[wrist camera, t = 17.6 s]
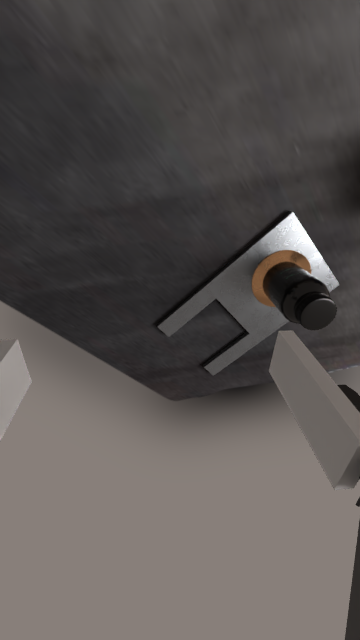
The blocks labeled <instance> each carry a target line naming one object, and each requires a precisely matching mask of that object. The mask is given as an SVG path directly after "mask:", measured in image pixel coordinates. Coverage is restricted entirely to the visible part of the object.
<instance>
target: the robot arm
mask: <svg viewBox="0 0 360 640" xmlns="http://www.w3.org/2000/svg"><path fill="white" fill-rule="evenodd" d="M269 372H270V374H271V376H272V378H273V379H274V381H275V383H276V385H277V387H278V389H279V390H280V392H281V394H282V396H283V398H284V399H285V401H286V403H287V405H288V407H289V408H290V410H291V412H292V414H293V416H294V417H295V419H296V421H297V423H298V425H299V426H300V428H301V430H302V432H303V434H304V436H305V437H306V439H307V441H308V443H309V445H310V447H311V448H312V450H313V452H314V453H315V456H316V457H317V459H318V461H319V463H320V465H321V467H322V468H323V470H324V472H325V474H326V476H327V477H328V479H329V481H330V483H331V485H332V486H333V488H334V490H338V489H349V488H354V487H355V485H356V483H357V482H358V480H359V479H360V396H359V395H358V393H356V392H355V391H354V390H352V389H351V388H349V387H348V386H346V385H337V384H336V383H335V382H334V381H333V380H332V378H331V377H330V376H329V375H328V373H327V372H326V371H325V370H324V368H323V367H322V366H321V365H320V364H319V362H318V361H317V360H316V359H315V357H314V356H313V355H312V354H311V352H310V351H309V350H308V349H307V348H306V346H305V345H304V344H303V343H302V341H301V340H300V339H299V338H298V337H297V335H296V334H295V333H294V332H293V331H279V332H278V336H277V340H276V344H275V348H274V352H273V357H272V361H271V365H270V369H269ZM31 382H32V381H31V379H30V375H29V373H28V369H27V366H26V363H25V361H24V357H23V354H22V351H21V348H20V345H19V342H18V339H5V340H0V440H1V439H2V437H3V435H4V433H5V431H6V429H7V427H8V425H9V423H10V422H11V420H12V418H13V416H14V414H15V412H16V410H17V408H18V406H19V405H20V403H21V401H22V399H23V397H24V395H25V393H26V391H27V390H28V387H29V386H30V384H31ZM356 505H357V506H360V498H359V499H358V501H357V503H356ZM345 640H360V521H359V529H358V537H357V546H356V554H355V563H354V570H353V578H352V586H351V594H350V603H349V611H348V619H347V627H346V635H345Z"/></svg>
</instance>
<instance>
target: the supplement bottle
mask: <svg viewBox="0 0 360 640" xmlns="http://www.w3.org/2000/svg"><path fill="white" fill-rule="evenodd" d="M263 290H264V293H265V294H266V296H267V297H268V298H269V299H270V301H271V302H272V303H273V304H274V305H275V306H276V308H277V309H278V310H279V311H280V312H281V314H282V315H283V316H284V317H285V318H286V319H287V320H289V321H291V322H293V323H298V324H301V325H302V326H303V327H304V328H307V329H308V330H319V329H322V328H324V327H326V326H327V325H328V324H330V323H331V321H333V319H334V318H335V315H336V312H337V310H336V309H337V307H336V304H335V302H334V301H333V300H332V299H331V298H330V294H329V290H328V288H327V286H326V285H325V284H324V283H323V282H321V281H320V280H319V279H317V278H316V277H314V276H313V275H312V274H310V273H309V272H307V271H306V270H305V269H303V268H302V267H300V266H299V265H297V264H295V263H293V262H281V263H278V264H276V265H274V266H273V267H271V268H270V269H269V270H268V271H267V273H266V274H265V276H264V279H263Z"/></svg>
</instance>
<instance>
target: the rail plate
mask: <svg viewBox="0 0 360 640" xmlns="http://www.w3.org/2000/svg"><path fill="white" fill-rule="evenodd" d="M281 262H293V263H295V264H297V265H299V266H300V267H302V268H303V269H305V270H306V271H307V272H309V273H310V274H312V275H313V276H314V277H316V278H317V279H319V280H320V281H321V282H323V283H324V284H325V285H326V286H327V288H328V290H329V292H330V291H331V290H333V289H334V288H336V287H337V286H338V285H339V283H338V281H337V280H336V278H335V277H334V275H333V274H332V272H331V271H330V269H329V267H328V266H327V264H326V263H325V261H324V260H323V258H322V256H321V255H320V253H319V252H318V250H317V249H316V247H315V246H314V244H313V242H312V241H311V239H310V238H309V236H308V235H307V233H306V232H305V230H304V228H303V227H302V225H301V224H300V222H299V221H298V219H297V218H296V216H295V214H294V213H293V212H291V211H290V212H288V213H287V214H286V215H285V216H284V217H282V218H281V219H280V220H279V221H278V222H277V223H275V224H274V225H273V226H272V227H271V228H270V229H268V230H267V231H266V232H265V233H264V234H262V235H261V236H260V237H259V238H258V239H257V240H255V241H254V242H253V243H252V244H251V245H250V246H248V247H247V248H246V249H245V250H244V251H243V252H241V253H240V254H239V255H238V256H237V257H235V258H234V259H233V260H232V261H231V262H230V263H228V264H227V265H226V266H225V267H224V268H223V269H221V270H220V271H219V272H218V273H217V274H215V275H214V276H213V277H212V278H211V279H210V280H208V281H207V282H206V283H205V284H204V285H203V286H201V287H200V288H199V289H198V290H197V291H195V292H194V293H193V294H192V295H191V296H190V297H188V298H187V299H186V300H185V301H184V302H183V303H181V304H180V305H179V306H178V307H177V308H176V309H174V310H173V311H172V312H171V313H170V314H168V315H167V316H166V317H165V318H164V319H163V320H161V321H160V322H159V323H158V324H157V327H158V328H159V329H160V330H161V331H162V332H164V333H165V334H166V335H167V336H168V337H170V336H171V335H172V334H173V333H175V332H176V331H177V330H178V329H179V328H181V327H182V326H183V325H184V324H185V323H187V322H188V321H189V320H190V319H192V318H193V317H194V316H195V315H196V314H198V313H199V312H200V311H201V310H203V309H204V308H205V307H206V306H207V305H209V304H210V303H211V302H212V301H214V300H215V299H217V300H218V301H219V302H220V303H221V304H222V305H223V306H224V307H225V308H226V309H227V310H228V311H229V312H230V313H231V315H232V316H233V317H234V318H235V319H236V320H237V321H238V322H239V323H240V324H241V325H242V326H243V327H244V328H245V329H246V330H247V332H246V333H244V334H243V335H242V336H240V337H239V338H238V339H236V340H235V341H234V342H232V343H231V344H230V345H228V346H227V347H226V348H224V349H223V350H221V351H220V352H219V353H217V354H216V355H215V356H213V357H212V358H211V359H209V360H208V361H207V362H205V363H204V364H203V365H204V368H205V369H206V370H208V371H209V372H210V373H211V374H212V375H213V376H214V375H215V374H216V373H218V372H219V371H221V370H222V369H223V368H225V367H226V366H227V365H229V364H230V363H232V362H233V361H234V360H236V359H237V358H239V357H240V356H241V355H243V354H244V353H245V352H247V351H248V350H250V349H251V348H252V347H254V346H255V345H257V344H258V343H259V342H261V341H262V340H264V339H265V338H266V337H268V336H269V335H270V334H272V333H273V332H275V331H276V330H277V329H279V328H280V327H282V326H283V325H284V324H286V323H287V322H288V321H289V320H287V319H286V318H285V317H284V316H283V315H282V314H281V312H280V311H279V310H278V309H277V308H276V306H275V305H274V304H273V303H272V302H271V301H270V299H269V298H268V297H267V296H266V294H265V293H264V290H263V279H264V276H265V274H266V273H267V271H268V270H269V269H270V268H271V267H273V266H274V265H276V264H278V263H281Z"/></svg>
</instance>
